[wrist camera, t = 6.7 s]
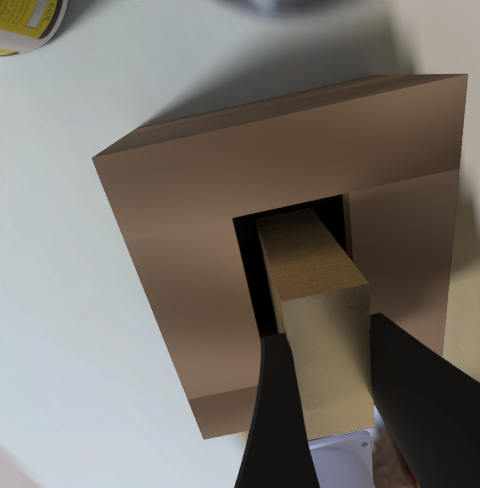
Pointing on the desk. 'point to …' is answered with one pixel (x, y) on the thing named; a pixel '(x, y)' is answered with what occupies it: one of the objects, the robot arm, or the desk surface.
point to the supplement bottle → (28, 24)
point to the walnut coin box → (280, 195)
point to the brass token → (320, 320)
